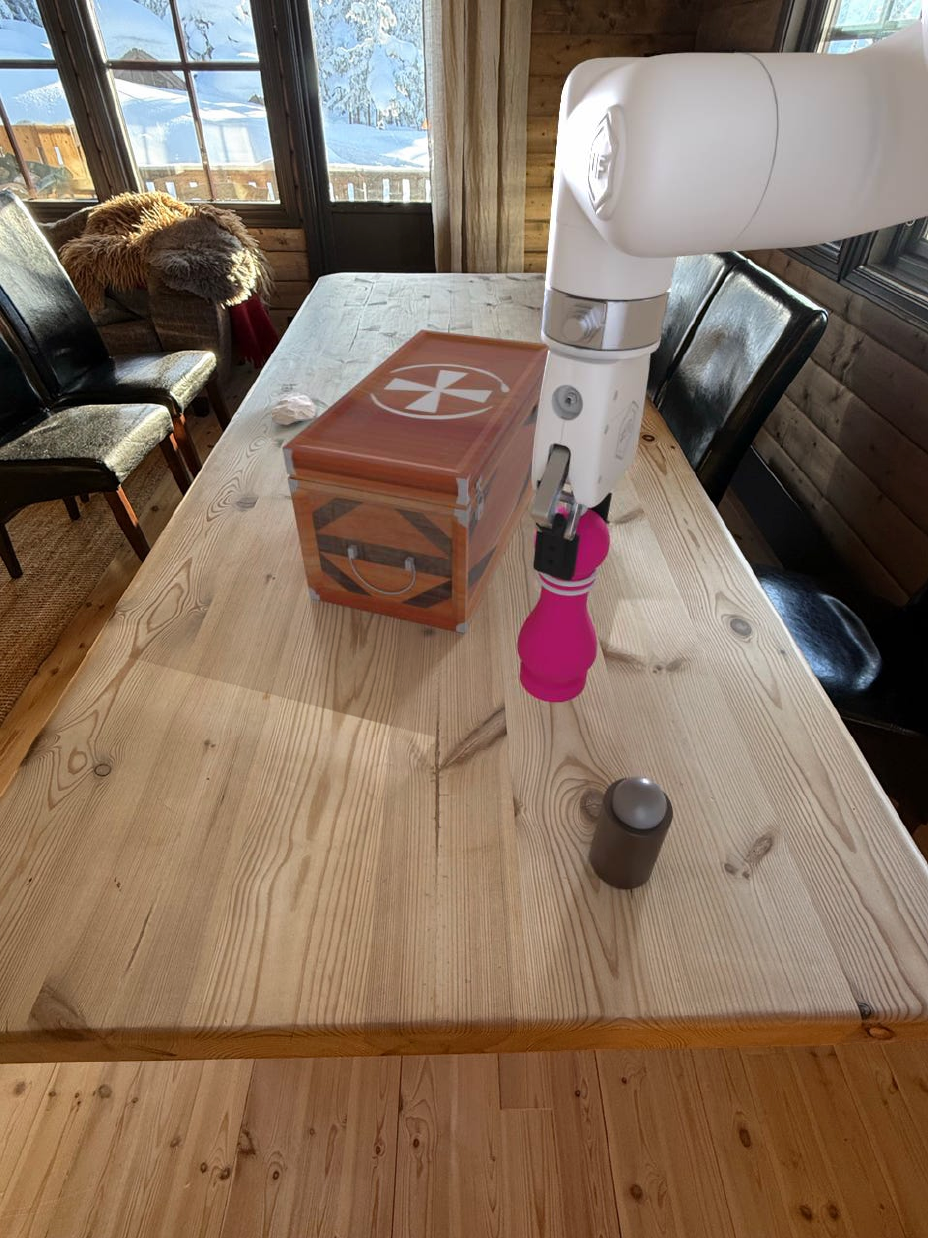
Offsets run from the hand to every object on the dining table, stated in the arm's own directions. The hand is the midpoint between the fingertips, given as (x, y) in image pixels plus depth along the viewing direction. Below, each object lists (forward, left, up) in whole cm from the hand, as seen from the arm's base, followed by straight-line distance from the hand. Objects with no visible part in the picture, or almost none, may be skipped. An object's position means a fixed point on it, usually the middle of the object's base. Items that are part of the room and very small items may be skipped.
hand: (570, 549), depth 53 cm
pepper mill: (0, 0, -15) cm, 15 cm away
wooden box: (+27, -25, -21) cm, 42 cm away
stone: (+70, -45, -21) cm, 86 cm away
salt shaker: (-12, +11, -21) cm, 26 cm away
